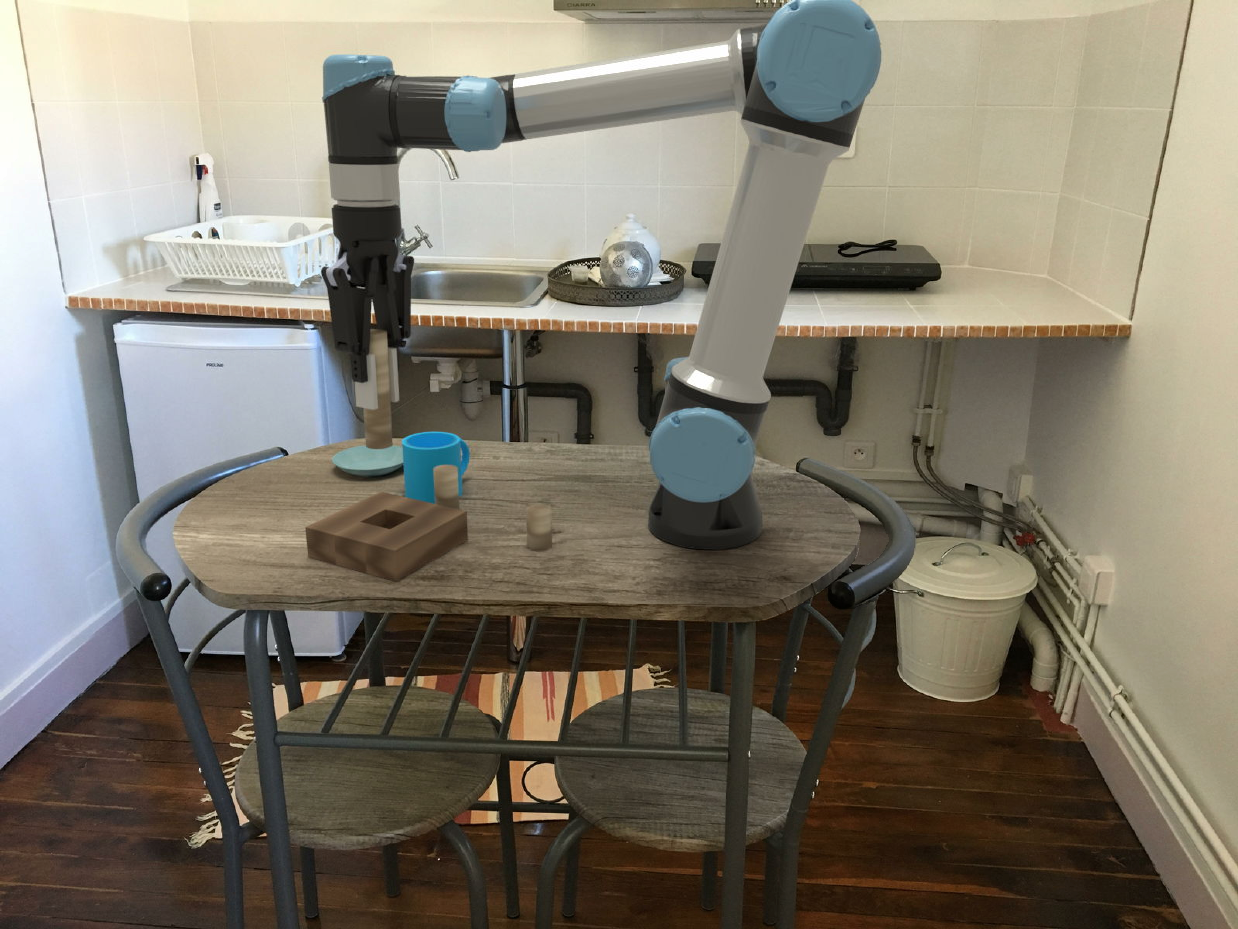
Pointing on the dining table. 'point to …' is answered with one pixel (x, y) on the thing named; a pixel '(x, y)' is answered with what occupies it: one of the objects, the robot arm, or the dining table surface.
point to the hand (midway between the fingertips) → (378, 403)
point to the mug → (431, 461)
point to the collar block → (387, 535)
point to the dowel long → (379, 396)
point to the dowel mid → (446, 486)
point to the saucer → (369, 460)
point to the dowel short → (539, 527)
